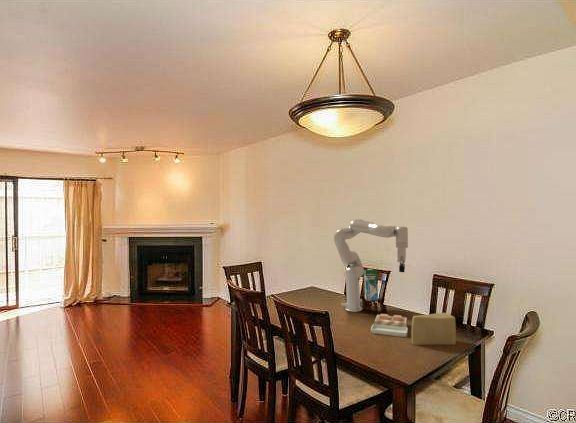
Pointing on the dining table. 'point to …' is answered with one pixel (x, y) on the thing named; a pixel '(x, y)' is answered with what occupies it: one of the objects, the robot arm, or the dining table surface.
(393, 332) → the tray
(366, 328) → the dining table surface
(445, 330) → the tan rounded block
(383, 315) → the tile
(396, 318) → the tile
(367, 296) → the milk carton
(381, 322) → the white food package
